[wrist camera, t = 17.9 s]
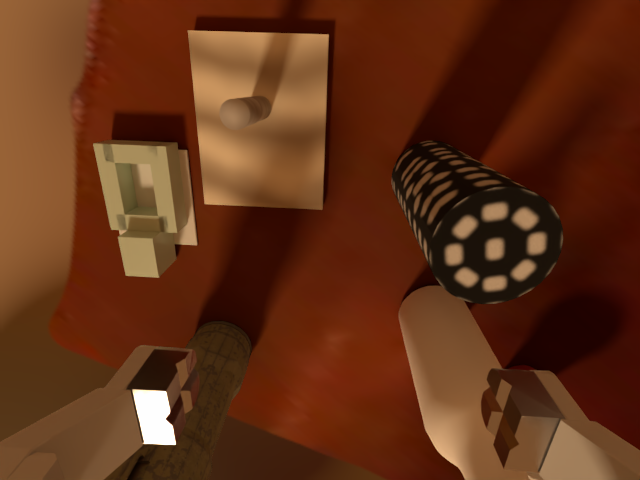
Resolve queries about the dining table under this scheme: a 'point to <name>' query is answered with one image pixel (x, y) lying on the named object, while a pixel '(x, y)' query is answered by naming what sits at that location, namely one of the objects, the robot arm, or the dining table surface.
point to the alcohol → (452, 380)
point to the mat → (147, 199)
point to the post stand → (261, 117)
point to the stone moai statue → (197, 409)
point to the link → (143, 222)
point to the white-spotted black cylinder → (476, 224)
